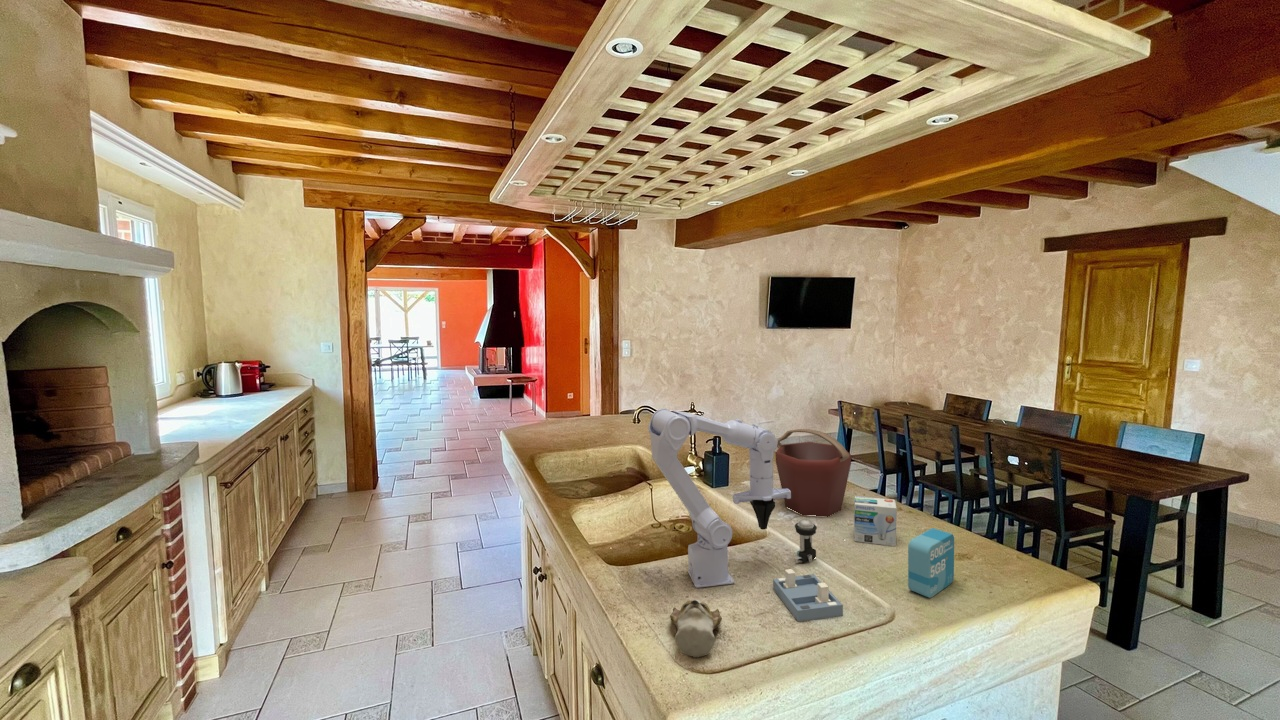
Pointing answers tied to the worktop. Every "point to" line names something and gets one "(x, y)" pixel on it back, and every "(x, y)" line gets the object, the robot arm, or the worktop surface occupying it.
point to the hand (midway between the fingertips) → (762, 527)
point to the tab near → (822, 593)
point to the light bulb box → (875, 520)
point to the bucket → (813, 474)
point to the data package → (930, 562)
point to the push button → (805, 541)
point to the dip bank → (807, 599)
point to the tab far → (789, 579)
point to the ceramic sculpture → (695, 627)
